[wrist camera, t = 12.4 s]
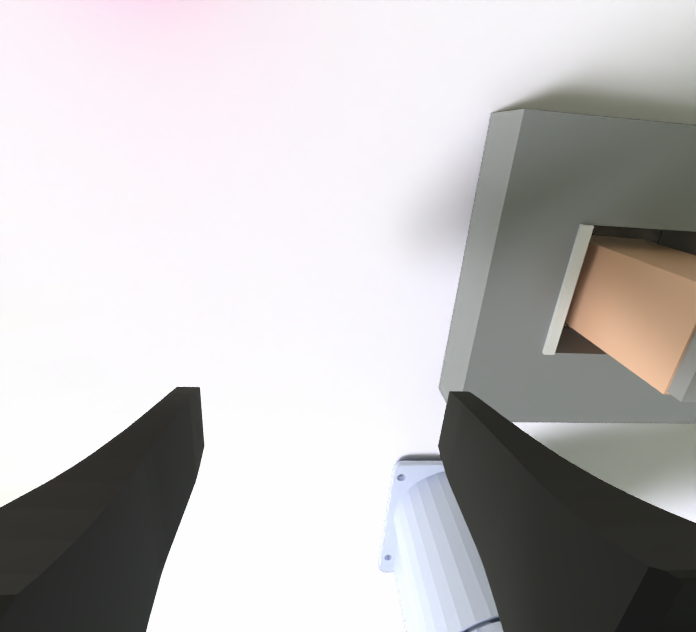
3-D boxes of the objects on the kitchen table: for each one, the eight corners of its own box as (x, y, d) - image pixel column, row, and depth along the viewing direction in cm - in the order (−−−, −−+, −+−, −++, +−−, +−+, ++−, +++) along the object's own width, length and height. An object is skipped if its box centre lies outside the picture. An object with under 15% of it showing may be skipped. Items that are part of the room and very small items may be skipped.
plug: (614, 311, 22) (779, 406, 15) (544, 308, 22) (677, 404, 14) (640, 238, 21) (842, 300, 13) (566, 233, 20) (729, 294, 13)
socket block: (663, 391, 25) (711, 425, 22) (438, 388, 23) (457, 424, 20) (775, 139, 19) (858, 140, 16) (491, 113, 18) (527, 108, 15)
